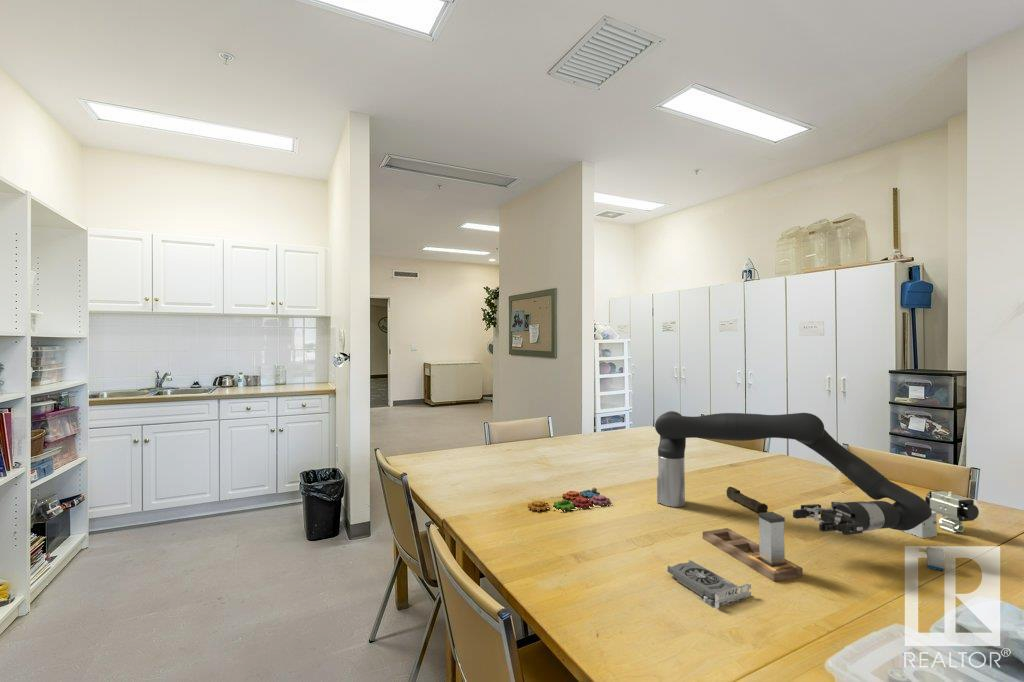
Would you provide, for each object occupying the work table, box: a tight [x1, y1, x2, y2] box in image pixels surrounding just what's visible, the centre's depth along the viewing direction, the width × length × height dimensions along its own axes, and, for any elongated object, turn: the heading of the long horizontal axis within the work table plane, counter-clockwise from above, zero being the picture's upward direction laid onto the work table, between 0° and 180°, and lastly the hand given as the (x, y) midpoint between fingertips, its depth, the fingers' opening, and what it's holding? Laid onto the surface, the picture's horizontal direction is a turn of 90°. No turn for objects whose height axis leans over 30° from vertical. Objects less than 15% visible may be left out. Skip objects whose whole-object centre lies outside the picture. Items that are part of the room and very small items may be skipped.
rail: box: [702, 527, 804, 582], centre depth 126 cm, size 26×9×2 cm, turn 16°
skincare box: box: [903, 511, 938, 539], centre depth 139 cm, size 6×6×7 cm
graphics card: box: [666, 559, 752, 611], centre depth 111 cm, size 17×4×12 cm
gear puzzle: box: [527, 487, 613, 512], centre depth 168 cm, size 31×16×4 cm, turn 109°
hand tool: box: [726, 486, 769, 514], centre depth 165 cm, size 19×4×5 cm, turn 9°
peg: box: [757, 511, 786, 567], centre depth 119 cm, size 4×4×14 cm
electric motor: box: [918, 546, 946, 571], centre depth 119 cm, size 7×5×5 cm
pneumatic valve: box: [924, 490, 980, 534], centre depth 141 cm, size 6×12×12 cm, turn 9°
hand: (806, 520), depth 121 cm, fingers open, 8 cm apart
